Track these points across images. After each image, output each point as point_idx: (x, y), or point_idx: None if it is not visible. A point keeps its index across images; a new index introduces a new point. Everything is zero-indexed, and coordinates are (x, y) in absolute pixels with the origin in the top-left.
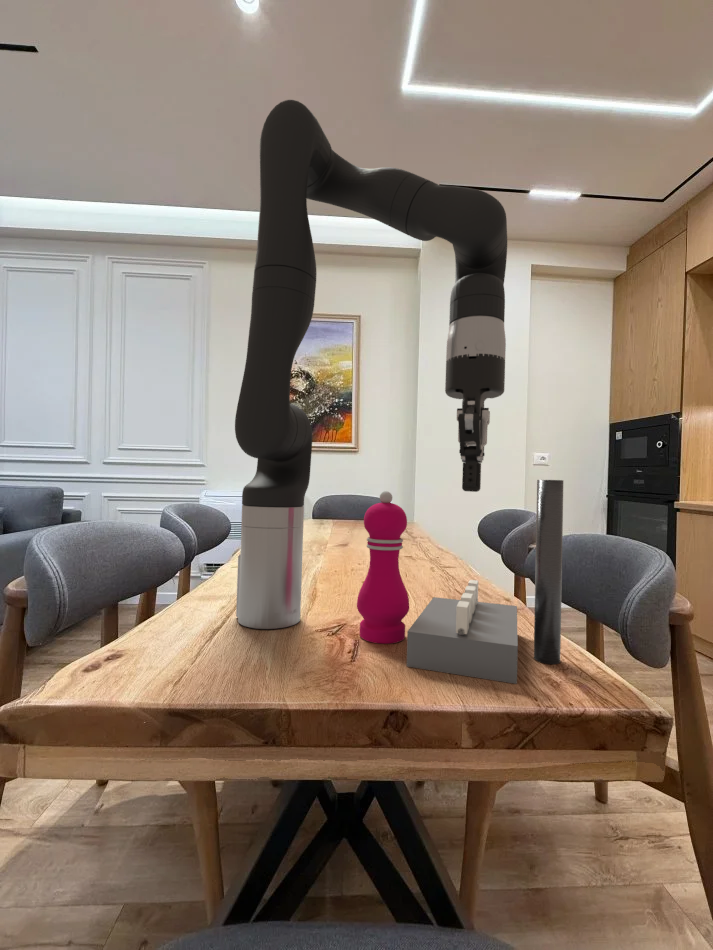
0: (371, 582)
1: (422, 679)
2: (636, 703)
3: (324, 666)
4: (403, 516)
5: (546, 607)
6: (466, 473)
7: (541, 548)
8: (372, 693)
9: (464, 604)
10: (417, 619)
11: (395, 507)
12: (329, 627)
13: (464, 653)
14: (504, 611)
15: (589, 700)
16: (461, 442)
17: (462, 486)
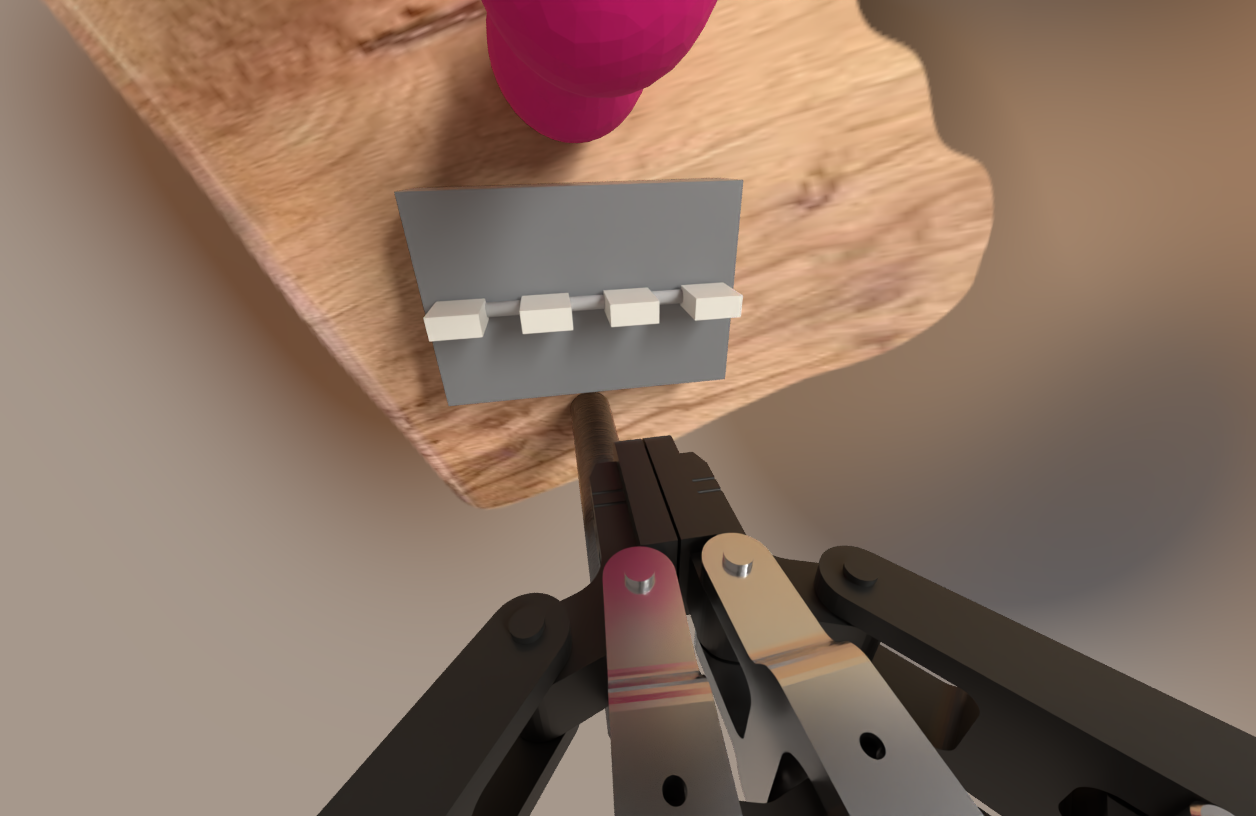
0: None
1: (376, 234)
2: (487, 500)
3: None
4: (573, 79)
5: (576, 459)
6: (596, 518)
7: (592, 530)
8: (246, 158)
9: (452, 331)
10: (503, 190)
11: (558, 4)
12: None
13: None
14: (668, 362)
15: (462, 459)
16: (403, 731)
17: (617, 448)
